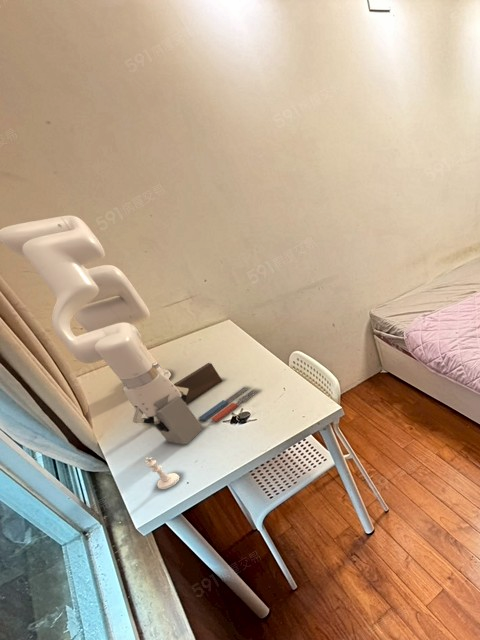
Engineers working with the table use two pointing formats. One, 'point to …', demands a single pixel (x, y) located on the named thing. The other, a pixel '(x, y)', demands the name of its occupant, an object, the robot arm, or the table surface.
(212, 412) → the knife
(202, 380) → the shelf
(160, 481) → the chess piece
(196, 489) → the table surface
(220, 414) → the fork
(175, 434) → the perfume bottle
